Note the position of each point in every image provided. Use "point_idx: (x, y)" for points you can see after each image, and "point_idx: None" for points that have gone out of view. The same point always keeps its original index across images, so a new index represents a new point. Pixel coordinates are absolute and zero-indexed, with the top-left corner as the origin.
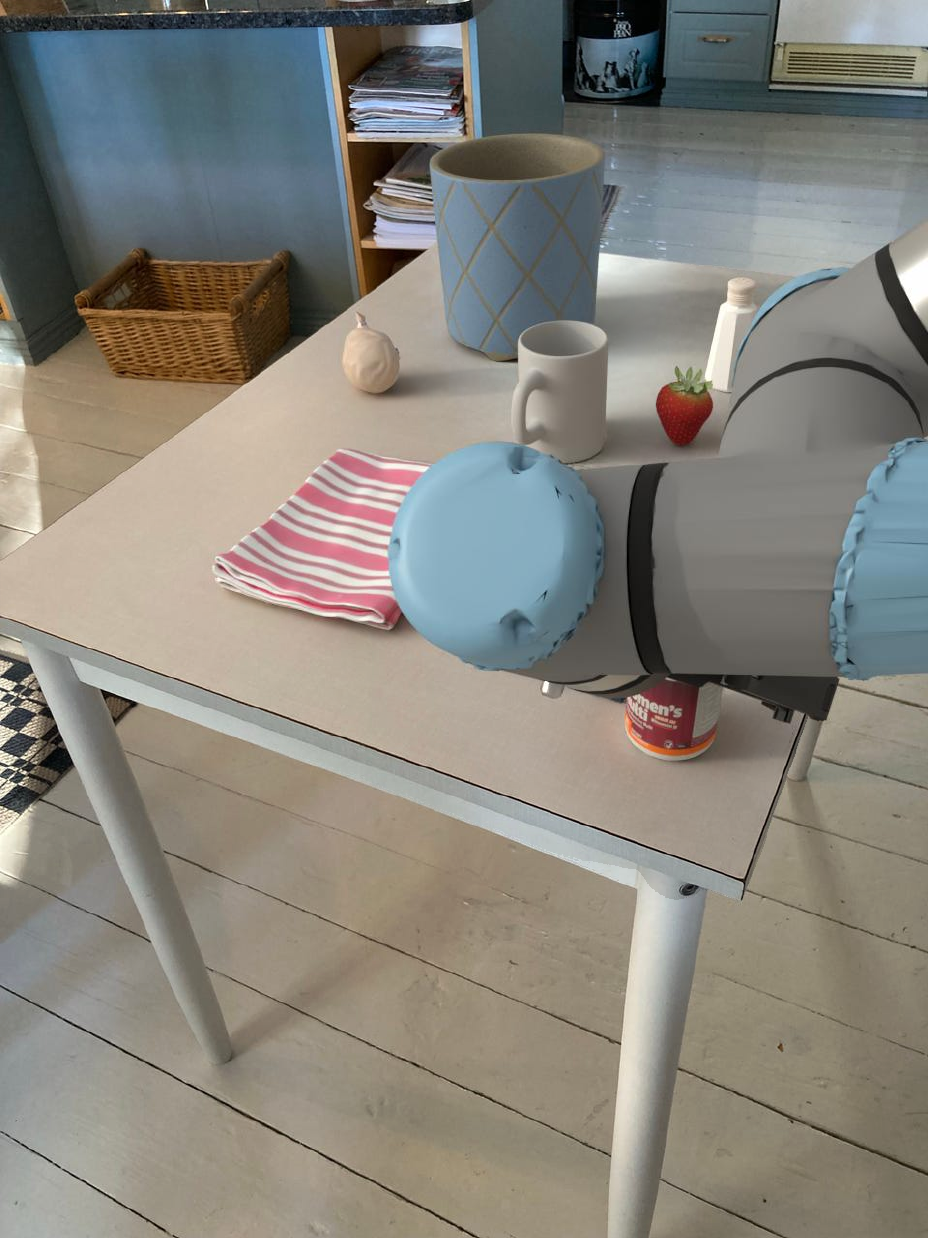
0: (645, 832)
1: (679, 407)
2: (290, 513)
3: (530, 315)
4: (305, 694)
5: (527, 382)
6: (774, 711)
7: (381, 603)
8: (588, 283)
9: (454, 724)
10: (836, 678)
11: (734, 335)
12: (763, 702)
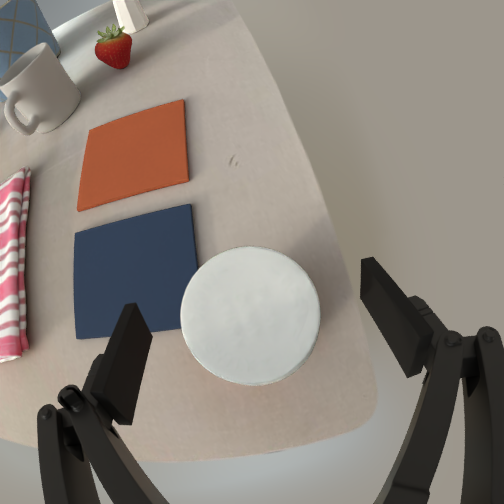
0: (305, 435)
1: (110, 48)
2: None
3: None
4: (34, 428)
5: (8, 103)
6: (424, 378)
7: (10, 346)
8: (44, 33)
9: None
10: (500, 339)
11: (126, 5)
12: (409, 375)
